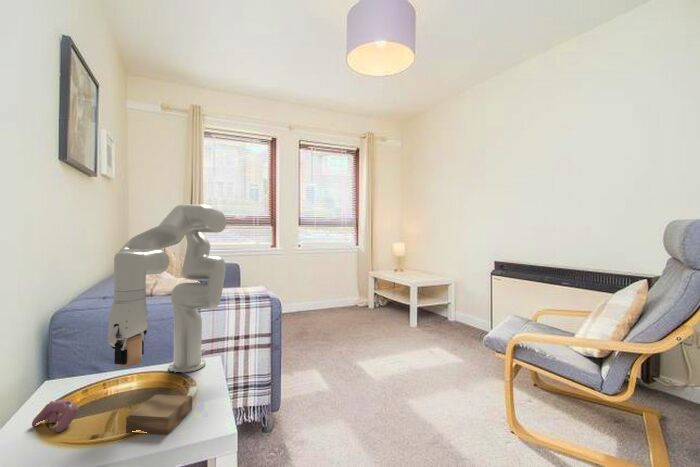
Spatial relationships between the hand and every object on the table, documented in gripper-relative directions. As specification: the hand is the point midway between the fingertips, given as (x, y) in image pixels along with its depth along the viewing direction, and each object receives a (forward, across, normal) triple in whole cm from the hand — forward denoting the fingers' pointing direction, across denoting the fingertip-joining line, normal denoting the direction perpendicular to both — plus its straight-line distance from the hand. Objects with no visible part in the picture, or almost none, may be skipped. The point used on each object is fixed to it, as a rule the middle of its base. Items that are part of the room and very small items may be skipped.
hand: (129, 358), depth 97 cm
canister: (+1, 0, 0) cm, 1 cm away
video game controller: (+16, +7, -15) cm, 23 cm away
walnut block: (+15, +3, +11) cm, 19 cm away
